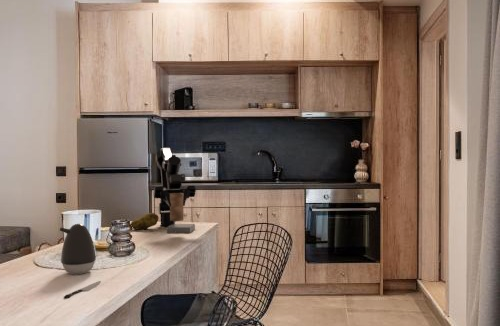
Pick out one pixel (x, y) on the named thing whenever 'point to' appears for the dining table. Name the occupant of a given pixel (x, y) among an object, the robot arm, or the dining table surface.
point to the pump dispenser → (77, 250)
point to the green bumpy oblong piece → (145, 221)
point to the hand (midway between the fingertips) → (177, 205)
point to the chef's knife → (83, 289)
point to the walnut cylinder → (176, 207)
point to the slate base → (180, 228)
